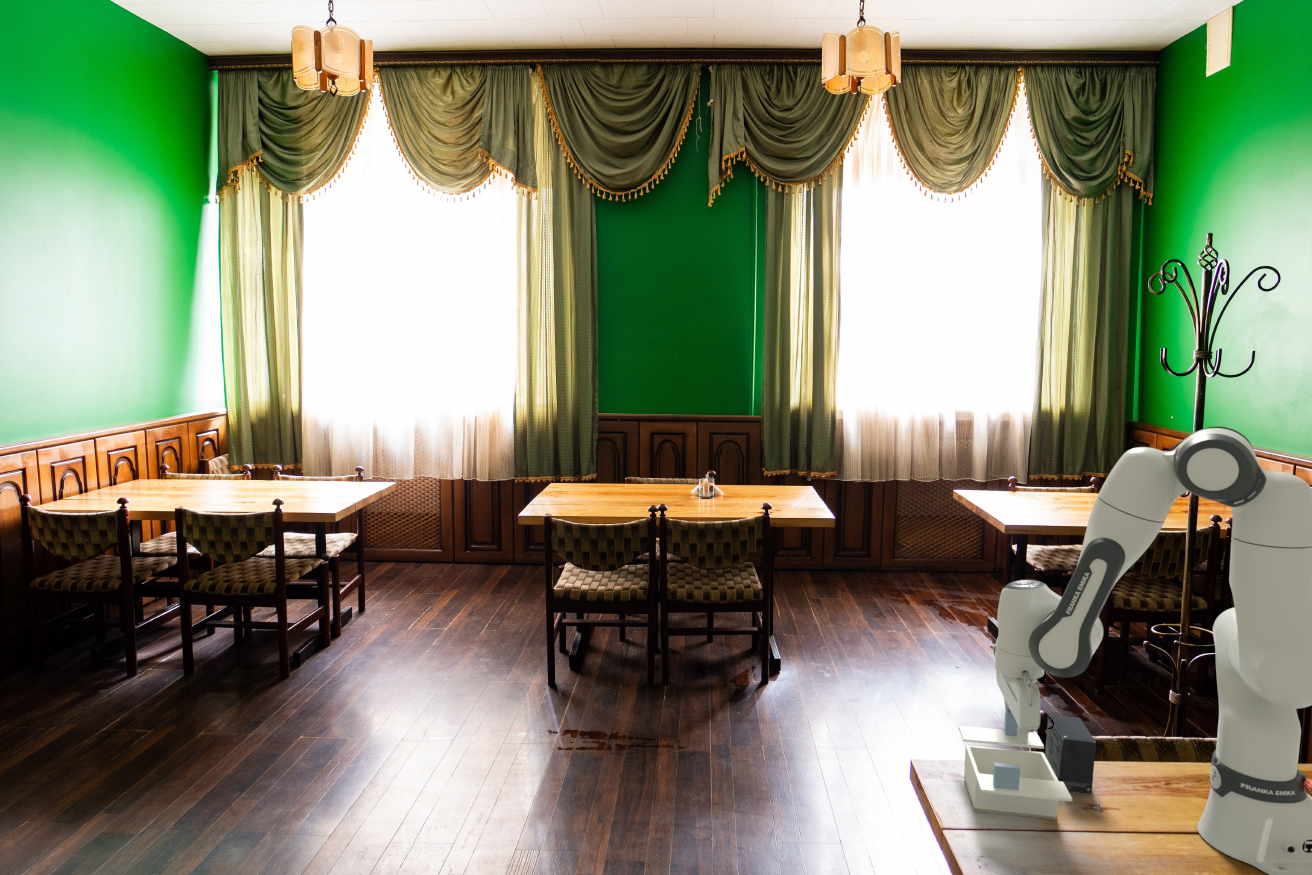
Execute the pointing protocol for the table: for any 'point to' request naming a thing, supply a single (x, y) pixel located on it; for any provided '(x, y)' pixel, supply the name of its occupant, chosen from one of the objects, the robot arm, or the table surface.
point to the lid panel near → (1020, 784)
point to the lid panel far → (1000, 735)
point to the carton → (1030, 767)
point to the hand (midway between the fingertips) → (1015, 729)
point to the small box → (1071, 752)
